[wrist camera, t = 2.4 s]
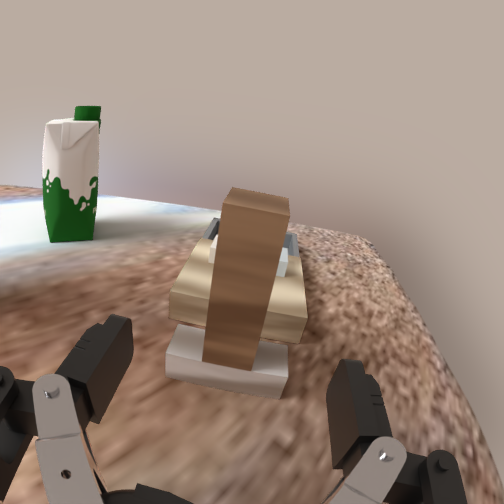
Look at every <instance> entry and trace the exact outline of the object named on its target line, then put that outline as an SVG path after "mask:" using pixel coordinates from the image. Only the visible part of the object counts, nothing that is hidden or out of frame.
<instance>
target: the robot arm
mask: <svg viewBox="0 0 504 504" xmlns="http://www.w3.org/2000/svg"><path fill="white" fill-rule="evenodd" d="M133 351H134V346H133V334H132V322H131V319H130V318H126V317H122V316H118V315H115V314H111V315H110V316H109V318H108V319H107V320H106V322H105V323H104V324H103V325H102V324H99V323H97V324H95V325H94V326H92V327H91V328H89V329H87V330H86V332H85V333H84V334H83V336H82V337H81V338H80V340H79V341H78V342H77V344H76V345H75V347H74V348H73V349H72V350H71V352H70V353H69V354H68V356H67V357H66V358H65V360H64V361H63V363H62V364H61V365H60V367H59V368H58V370H57V371H56V372H55V373H54V374H46V375H43V376H41V377H40V378H38V379H37V380H36V381H35V382H34V381H26V380H19V379H15V378H14V376H13V373H12V372H11V371H10V370H9V369H8V368H6V367H3V366H0V504H3V501H4V499H5V496H6V494H7V492H8V489H9V487H10V485H11V482H12V480H13V478H14V476H15V473H16V471H17V469H18V467H19V465H20V463H21V460H22V458H23V456H24V454H25V452H26V450H27V448H28V446H29V444H30V442H31V440H32V438H33V436H38V437H39V439H37V440H36V441H35V445H36V451H37V456H38V461H39V466H40V471H41V475H42V479H43V483H44V487H45V491H46V494H47V498H48V501H49V504H193V503H191V502H189V501H187V500H184V499H182V498H180V497H178V496H176V495H174V494H172V493H170V492H166V491H162V490H159V489H155V488H152V487H148V486H145V485H141V484H138V483H137V485H136V488H135V490H115V491H111V492H109V491H108V489H107V486H106V484H105V482H104V479H103V477H102V475H101V473H100V470H99V467H98V465H97V462H96V459H95V456H94V453H93V450H92V447H91V443H90V440H89V437H88V434H87V430H86V427H87V425H88V423H89V421H91V422H94V423H97V424H99V423H100V421H101V419H102V417H103V415H104V413H105V411H106V409H107V407H108V405H109V403H110V401H111V399H112V398H113V396H114V394H115V392H116V390H117V388H118V386H119V384H120V382H121V380H122V378H123V376H124V374H125V372H126V371H127V369H128V367H129V365H130V363H131V360H132V357H133ZM381 396H382V394H381V391H380V387H379V384H378V383H377V382H376V380H375V379H374V378H373V376H372V375H368V374H365V371H364V367H363V364H362V362H361V361H359V360H350V359H341V360H340V362H339V364H338V366H337V368H336V371H335V373H334V375H333V377H332V379H331V381H330V383H329V385H328V389H327V394H326V403H327V412H328V422H329V431H330V442H331V453H332V465H333V469H343V477H342V478H341V479H340V480H339V482H338V483H337V484H336V485H335V487H334V488H333V489H332V490H331V491H330V493H329V494H328V495H327V496H326V497H325V499H324V500H323V501H322V502H321V503H320V504H382V502H386V503H389V504H467V500H466V496H465V491H464V487H463V483H462V479H461V475H460V471H459V467H458V463H457V461H456V459H455V457H454V456H453V455H452V454H451V453H449V452H447V451H445V450H436V451H433V452H432V453H431V454H430V455H429V456H428V457H425V456H421V455H416V454H412V453H409V452H406V450H405V447H404V446H403V445H402V443H401V442H399V441H398V440H396V439H394V438H393V436H392V432H391V428H390V424H389V420H388V417H387V413H386V409H385V406H384V402H383V398H382V397H381Z"/></svg>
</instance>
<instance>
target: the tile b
mask: <svg viewBox="0 0 504 504" xmlns="http://www.w3.org/2000/svg"><path fill="white" fill-rule="evenodd" d="M287 265H288V250H287V248H282V252H281V256H280V260H279V264H278V269H277V273H276V276H280V277H284V276H285V273H286V269H287Z"/></svg>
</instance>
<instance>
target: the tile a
mask: <svg viewBox="0 0 504 504" xmlns="http://www.w3.org/2000/svg"><path fill="white" fill-rule="evenodd" d="M217 239H218V235H216V237H215V239H214V241H213V243H212V245H211V247H210V253H209V261H208V262H209V263H214V260H215V252H216V245H217Z"/></svg>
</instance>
